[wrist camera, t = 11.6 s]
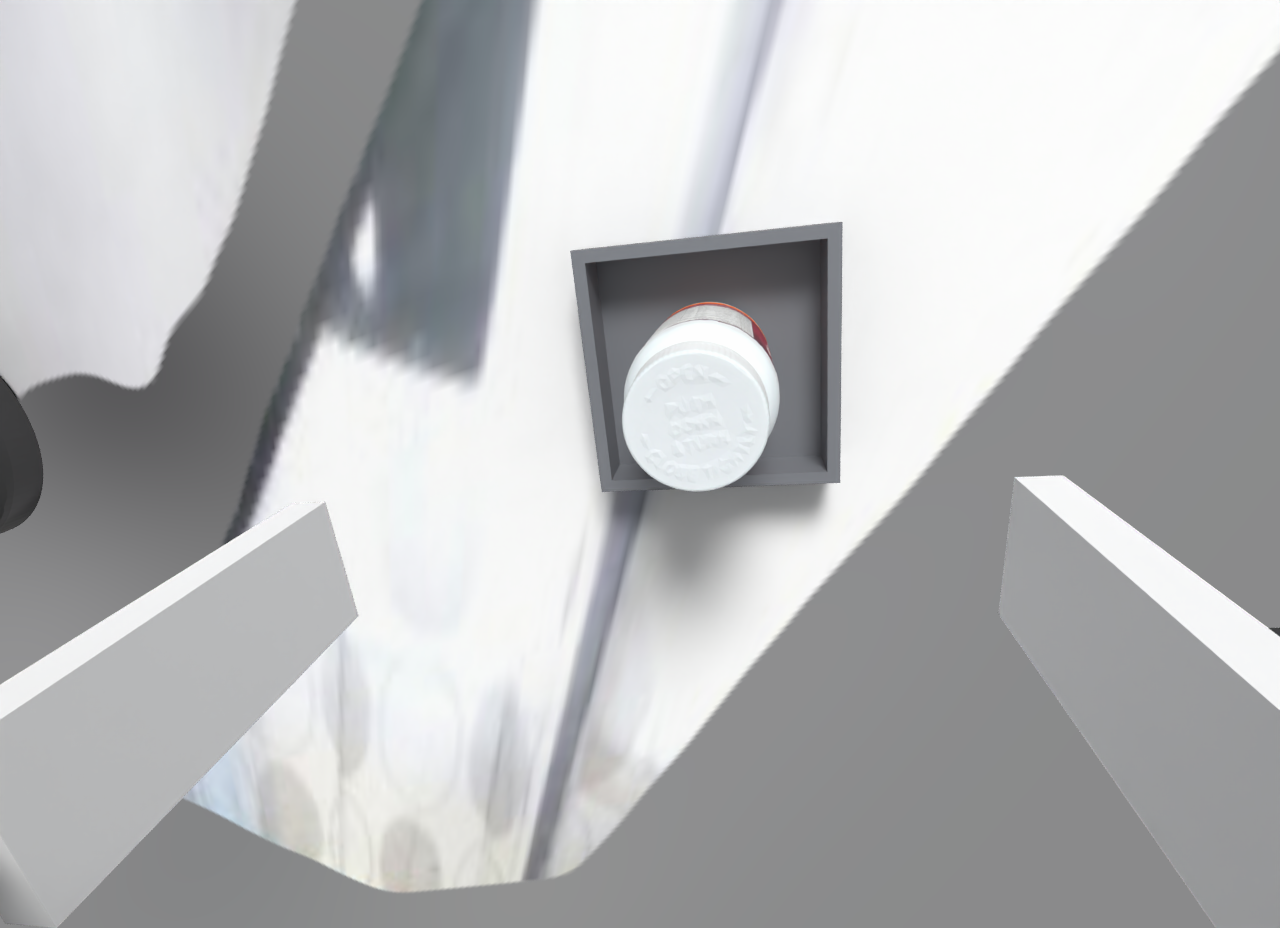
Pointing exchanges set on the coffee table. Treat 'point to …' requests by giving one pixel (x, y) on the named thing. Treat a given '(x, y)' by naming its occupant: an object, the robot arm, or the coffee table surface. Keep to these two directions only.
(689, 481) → the pill bottle
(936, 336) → the coffee table surface
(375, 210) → the coffee table surface
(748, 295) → the tray
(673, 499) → the coffee table surface
